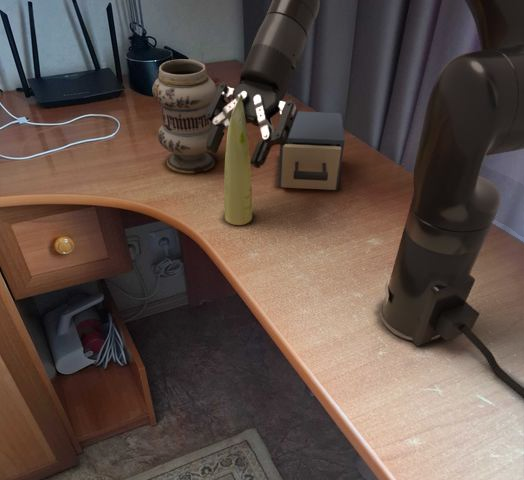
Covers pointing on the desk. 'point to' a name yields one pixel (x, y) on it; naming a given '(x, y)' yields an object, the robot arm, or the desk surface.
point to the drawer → (310, 165)
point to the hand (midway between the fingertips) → (232, 158)
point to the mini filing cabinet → (316, 133)
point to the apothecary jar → (185, 114)
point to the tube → (237, 170)
